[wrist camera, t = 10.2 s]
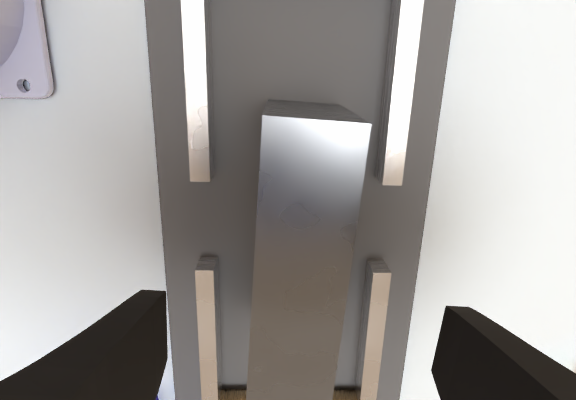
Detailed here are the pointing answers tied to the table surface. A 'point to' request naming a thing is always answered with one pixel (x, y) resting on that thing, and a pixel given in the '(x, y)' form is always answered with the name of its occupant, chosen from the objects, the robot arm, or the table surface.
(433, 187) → the table surface
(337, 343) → the dark gray rectangular chunk
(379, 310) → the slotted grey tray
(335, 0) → the grey slide base plate
